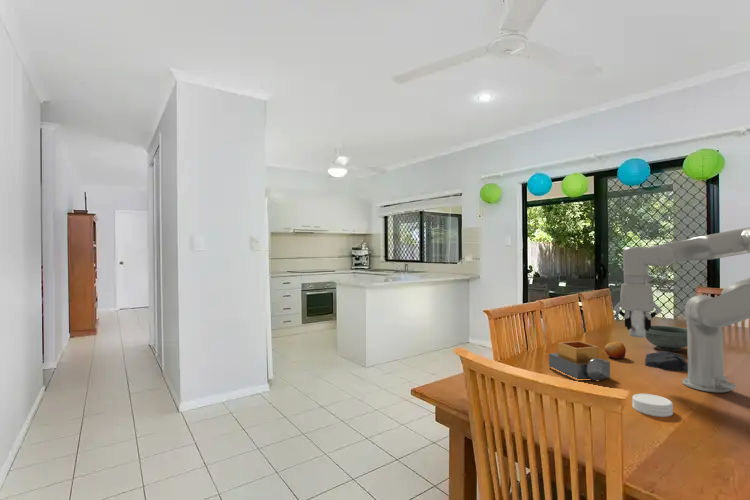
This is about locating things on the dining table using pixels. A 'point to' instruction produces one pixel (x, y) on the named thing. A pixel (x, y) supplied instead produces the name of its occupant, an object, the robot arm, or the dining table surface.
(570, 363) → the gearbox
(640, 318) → the spout can
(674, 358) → the dark slate chunk
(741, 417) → the dining table surface
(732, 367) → the dining table surface
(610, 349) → the fruit
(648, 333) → the bowl
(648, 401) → the coaster
